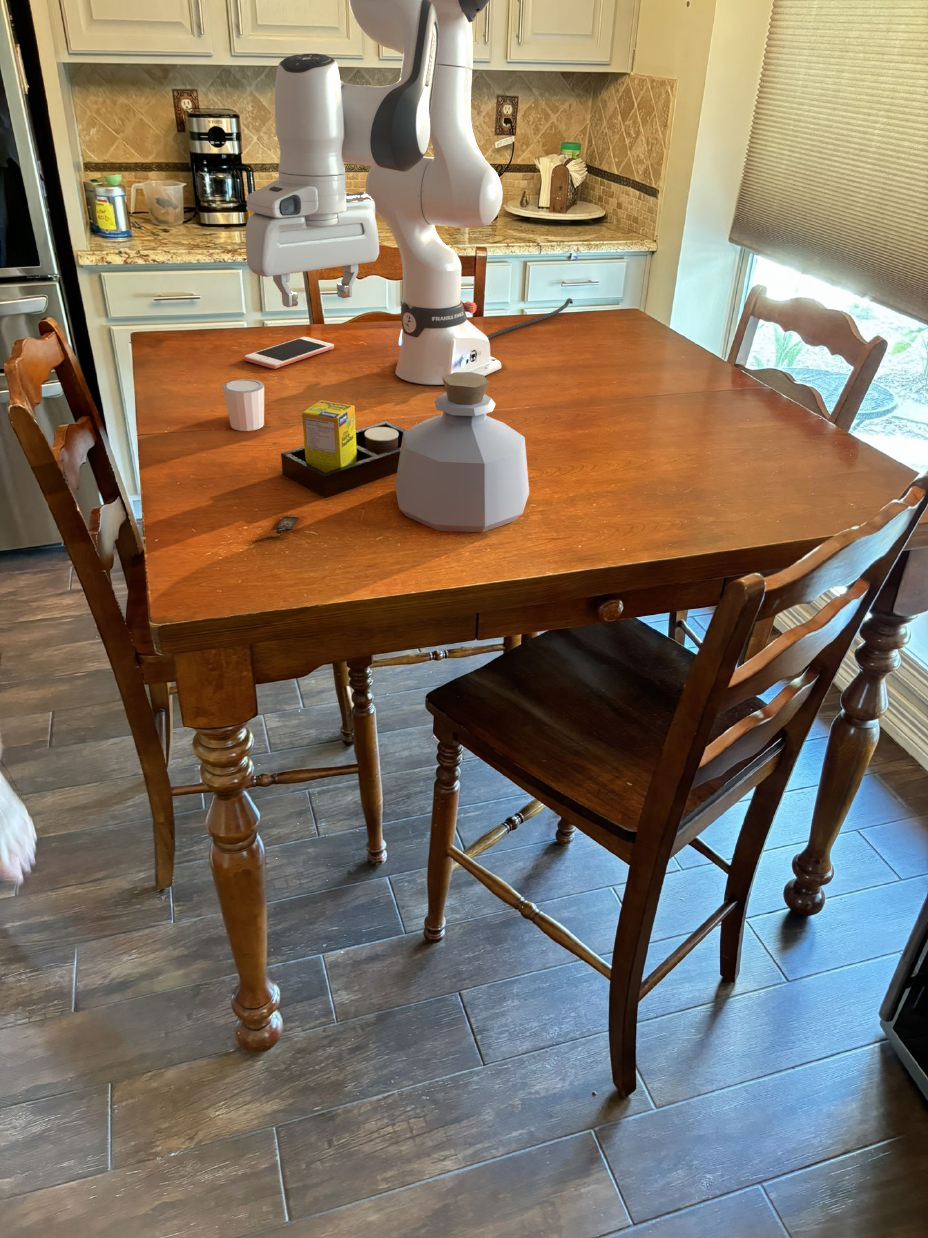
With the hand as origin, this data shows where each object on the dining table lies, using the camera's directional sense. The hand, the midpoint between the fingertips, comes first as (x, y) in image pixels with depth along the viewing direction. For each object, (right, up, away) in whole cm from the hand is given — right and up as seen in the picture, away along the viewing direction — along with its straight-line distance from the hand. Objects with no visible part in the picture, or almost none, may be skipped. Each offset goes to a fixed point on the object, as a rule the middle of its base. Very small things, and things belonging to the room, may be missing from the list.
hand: (318, 301), depth 130 cm
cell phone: (-15, +10, +60) cm, 62 cm away
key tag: (-5, -33, -4) cm, 34 cm away
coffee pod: (+8, -20, +17) cm, 27 cm away
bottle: (+20, -29, +5) cm, 35 cm away
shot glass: (-17, -12, +27) cm, 34 cm away
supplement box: (0, -23, +11) cm, 26 cm away
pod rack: (+4, -21, +14) cm, 26 cm away
